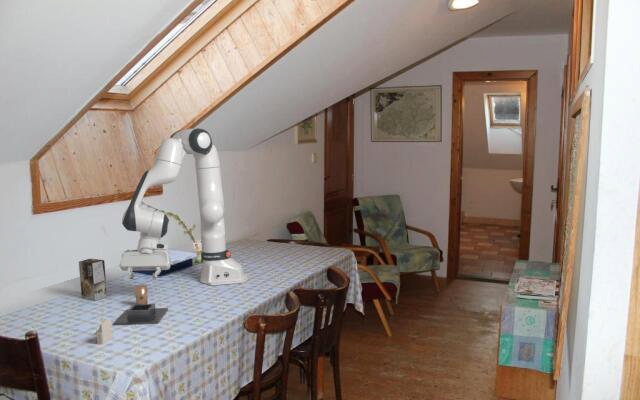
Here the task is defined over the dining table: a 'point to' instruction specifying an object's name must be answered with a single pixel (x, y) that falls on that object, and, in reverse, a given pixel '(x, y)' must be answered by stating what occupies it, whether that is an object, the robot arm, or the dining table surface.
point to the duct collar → (141, 315)
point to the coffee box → (93, 279)
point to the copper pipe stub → (141, 294)
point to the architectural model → (104, 332)
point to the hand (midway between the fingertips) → (142, 278)
